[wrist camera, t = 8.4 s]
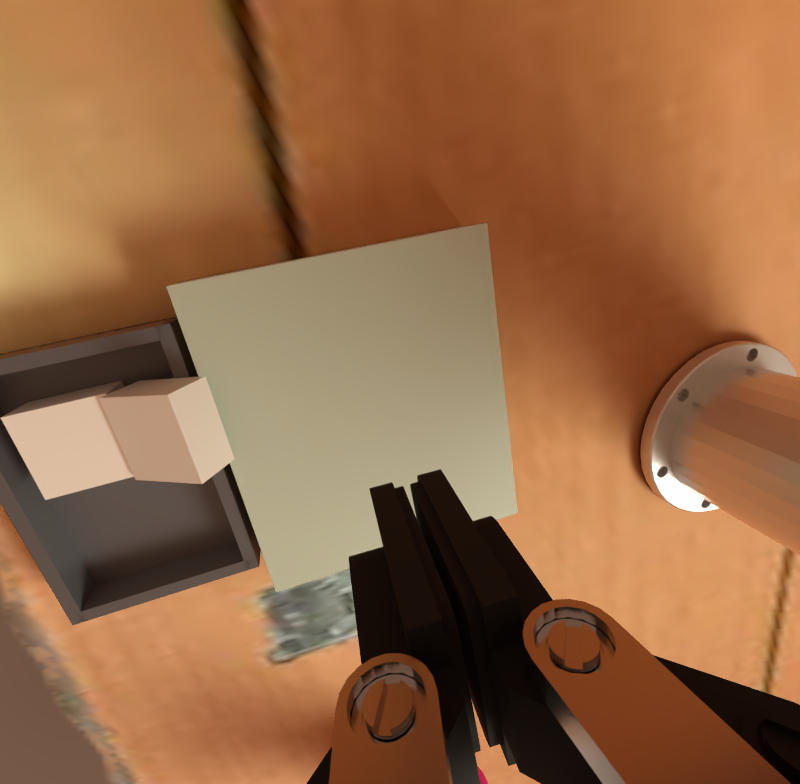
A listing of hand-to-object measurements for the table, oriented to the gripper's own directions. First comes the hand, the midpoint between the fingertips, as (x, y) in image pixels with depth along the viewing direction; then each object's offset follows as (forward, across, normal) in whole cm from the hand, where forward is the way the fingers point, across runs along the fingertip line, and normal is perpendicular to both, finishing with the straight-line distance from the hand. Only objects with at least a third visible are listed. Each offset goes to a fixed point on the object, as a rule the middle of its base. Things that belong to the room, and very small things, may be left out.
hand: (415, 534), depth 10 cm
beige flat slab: (+15, 0, +2) cm, 15 cm away
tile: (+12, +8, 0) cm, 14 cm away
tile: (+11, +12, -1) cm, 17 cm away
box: (+14, +12, +2) cm, 18 cm away
